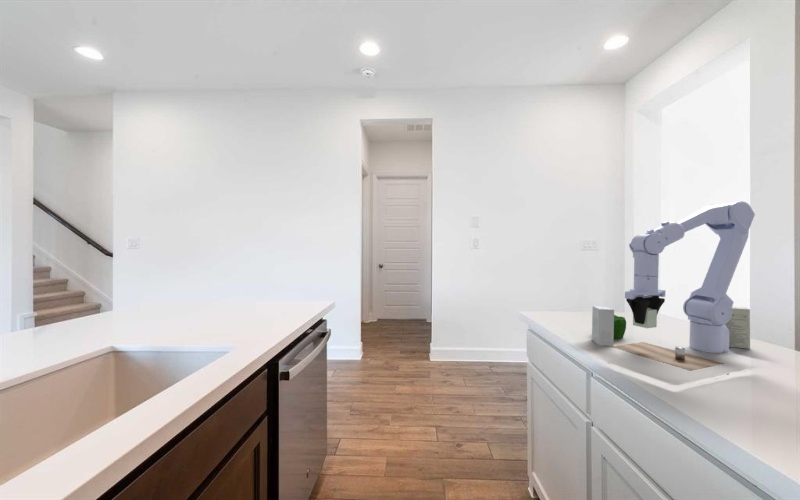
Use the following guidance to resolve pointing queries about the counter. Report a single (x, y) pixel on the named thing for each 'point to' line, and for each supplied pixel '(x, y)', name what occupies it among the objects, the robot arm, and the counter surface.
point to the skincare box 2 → (739, 328)
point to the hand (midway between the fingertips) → (644, 322)
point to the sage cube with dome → (648, 319)
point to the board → (667, 356)
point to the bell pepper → (619, 327)
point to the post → (680, 353)
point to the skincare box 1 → (603, 325)
